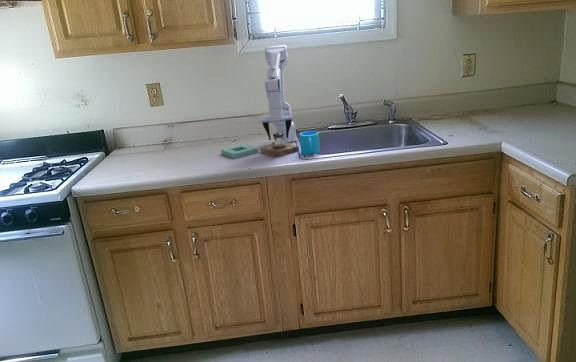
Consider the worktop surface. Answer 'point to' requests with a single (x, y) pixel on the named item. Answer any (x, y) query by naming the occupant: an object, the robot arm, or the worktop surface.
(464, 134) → the worktop surface
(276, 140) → the lock pin
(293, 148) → the mount board
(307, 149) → the mug
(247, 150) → the socket board
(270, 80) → the robot arm
